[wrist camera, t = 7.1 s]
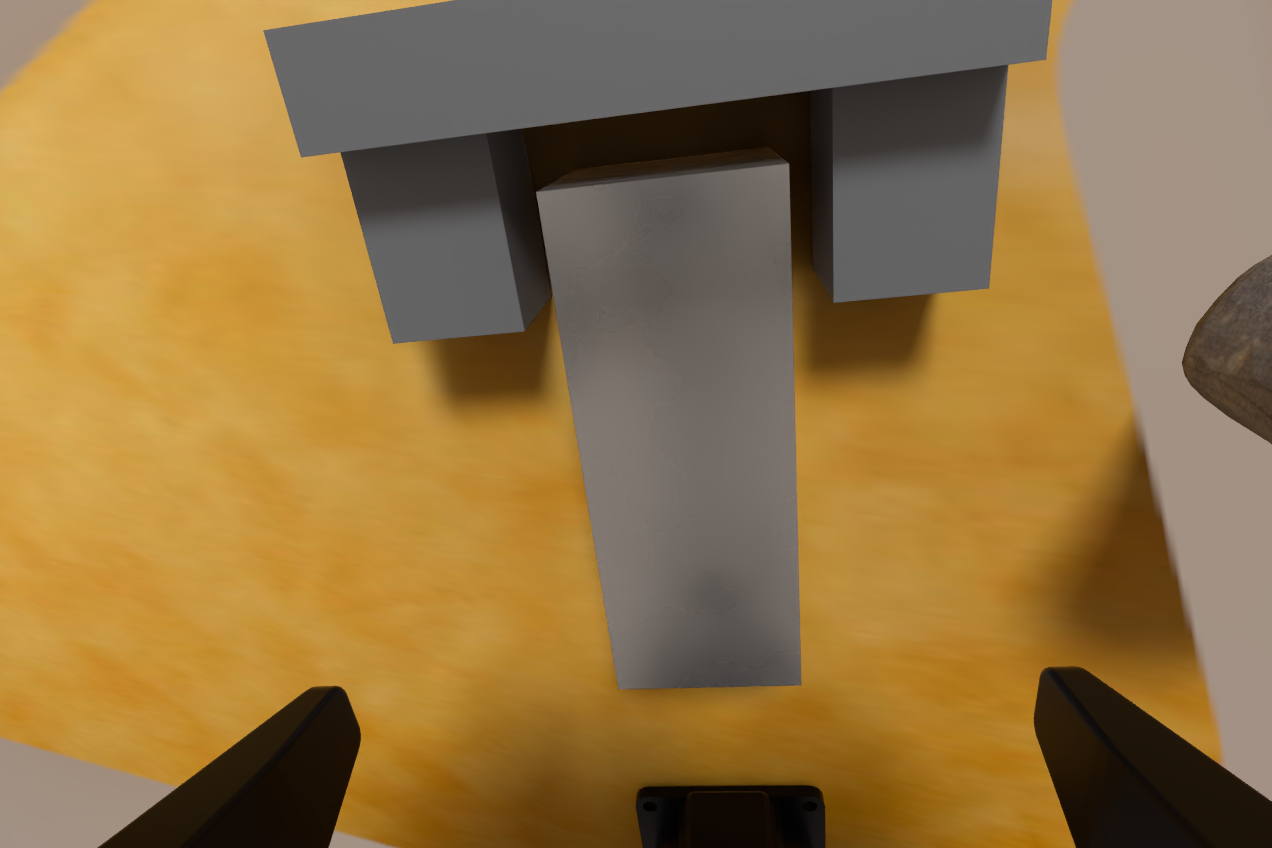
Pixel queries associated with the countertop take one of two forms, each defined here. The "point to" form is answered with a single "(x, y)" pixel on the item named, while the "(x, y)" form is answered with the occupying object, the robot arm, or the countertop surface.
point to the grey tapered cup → (1237, 351)
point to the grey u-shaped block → (643, 82)
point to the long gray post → (684, 409)
